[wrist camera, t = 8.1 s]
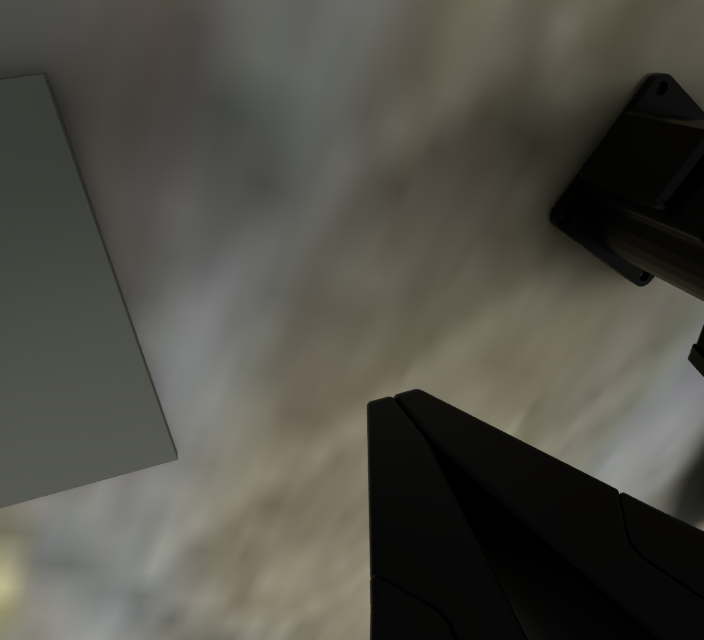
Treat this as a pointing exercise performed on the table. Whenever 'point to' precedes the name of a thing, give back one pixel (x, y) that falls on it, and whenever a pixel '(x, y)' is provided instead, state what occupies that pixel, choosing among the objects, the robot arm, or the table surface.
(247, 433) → the table surface
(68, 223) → the rubber mat
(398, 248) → the table surface
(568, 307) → the table surface
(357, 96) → the table surface
